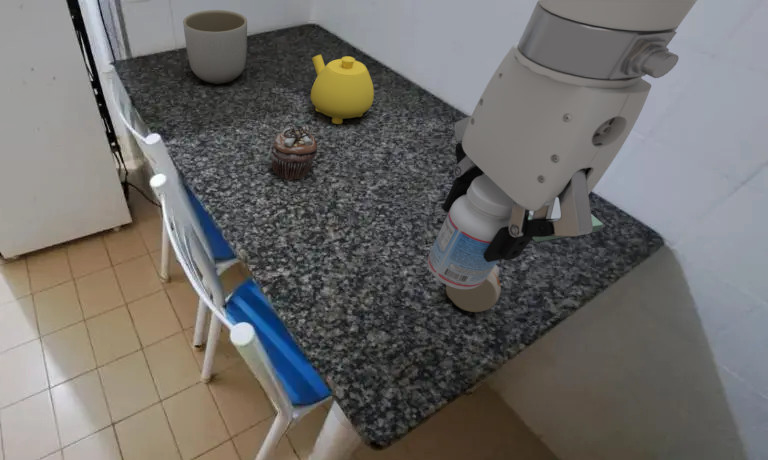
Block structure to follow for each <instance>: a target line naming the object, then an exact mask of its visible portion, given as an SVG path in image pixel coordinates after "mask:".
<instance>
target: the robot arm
mask: <svg viewBox="0 0 768 460" xmlns="http://www.w3.org/2000/svg"><path fill="white" fill-rule="evenodd" d="M696 2H698V0H537V2H536V4H535V6H534V8H533V11H532V12H531V14H530V15H531V16H530V17H529V20H528V22H527V23H526V26H525V28H524V30H523V32H522V35H520V36H521V37H520V39H519V40H518V42H515V43H514V44H513V45H512V46H511V48H510V49H509V50H508V51H507V53H506V55H505V56H504V57H503V59H502V61H501V62H500V63H499V65H498V66H497V68H496V70H495V71H494V73H493V74H492V76H491V78H490V80H489V81H488V83H487V85H486V87H485V88H484V91H483V92H482V93H481V95H480V98H479V99H478V101H477V103H476V105H475V107H474V109H473V112H472V114H471V115H469V116H466V117H464V118H462V119H460V120H457V121H455V122H454V124H453V131H454V137H455V143H456V145H455V147H454V151H455V158H456V165H455V166H454V167H453V169H452V170H453V172H452V173H453V175H454V177H455V179H454V181H453V183H452V185H451V187H450V190H449V192H448V194H447V196H446V199H445V201H444V202H443V204H442V207H441V208H442V209H443V211H444V212H445V213H447V214H448V213H449V210H450V208H451V206H452V205H453V203H454V202H455V201H456V200H457V199H458V198H459V197H461V196H463V195H465V194H467V190H468V188H469V187H470V185H471V183H472V181H473V180H474V179H475V178H477V177H478V176H481V175H487V176H488V177H489V178H490V179H491V180H492V181H493V182H494V183H495V184H496V185H498V186H499V187H500V188H501V189H502V190H503V191H504V192H505V193H506V194H507V195H508V196H509V197H510V198H512V199H513V200H514V201H513V207H512V212H511V217H510V222H509V226H507V227H502V228H500V229H499V231H498V232H497V234H496V235H495V237H494V238H493V240H492V242H491V243H490V245H489V246H488V248H487V249H486V251H485V253H484V254H483V255H484V256H483V258H484V259H485V260H486V261H487V262H492V261H497V260H499V261H501V260H502V261H503V260H504V261H511V260H512V261H513V260H514V259H517V258H518V257H519V256H520V255H521V254H522V253H523V252H524V250H525V249H526V248H527V246H528V245H529V244H530V242H531V241H532V240H533V239H532V238H533V237H546V236H555V237H564V238H574V237H575V238H576V237H580V236H581V237H582V236H585V235H590V234H592V233H591V232H592V231H593V225H592V217H591V214H592V211H591V210H592V209H591V204H590V197H589V195H590V194H591V193H592V191H593V190H594V189H595V187H596V186H597V184H598V183H599V182H600V181H601V179H602V178H603V176H604V175H605V173H606V172H607V171H608V169H609V167H610V166H611V165H612V163H613V161H614V160H615V158H616V157H617V155H618V153H619V152H620V151H621V149H622V148H623V146H624V144H625V142H626V141H627V139H628V137H629V135H630V134H631V132H632V130H633V128H634V126H635V124H636V122H637V120H638V119H639V116H640V114H641V113H642V111H643V108H644V106H645V103H646V101H647V98H648V96H649V94H650V92H651V88H652V84H651V83H650V82H648V81H646V80H645V79H643V78H642V77H645V76H646V75H648V76H649V77H651V78H653V79H660V78H661V77H664V76H665V75H667V74H668V73H669V72H670V71H672V70H673V69H674V68H675V66H676V65H677V64H678V62H679V58H680V57H679V55H678V54H676V53H673V52H670V49H669V48H668V45H669V44H670V43H671V41H672V40H673V38H674V37H675V36H676V34H677V31H676V30H677V29H678V28H679V26H681V24H682V22H683V21H684V19H685V18H686V17H687V15H688V14H689V13H690V11H691V10H692V8H693V7H694V5H696ZM556 197H558V198H559V204H560V211H561V217H560V219H559V218H558V219H551V215H552V211H553V207H554V203H555V199H556ZM530 211H534V212H533V217H532V219H529V220H528V218H529V213H530Z"/></svg>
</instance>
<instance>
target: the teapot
mask: <svg viewBox="0 0 768 460" xmlns="http://www.w3.org/2000/svg"><path fill="white" fill-rule="evenodd" d="M311 60H312V64H313V66H314V70H315V72H316V73H315V74H316V78H315V81H314V82H313V85H312V87H311V90H310V95H309V96H310V101H311V103H312V104H313V106H314V107H315V111H316V112H318V113H321V114H323V115H325V116H328V117H330V118H331V122H332V124H335V125H341V124H342V123H343V122H344V120H345V119H353V118H361V117H363V115H364V114H365V112H367V111H368V110H369V109H370V108H371V107H372V105H373V102H374V96H375V91H374V89H375V88H374V84H373V81H372V78H371V75H370V72H369V70H368V68H367V67H366V65H365V64H363V63H362V62H361V61H358V60H356V58H355V57H353V56H349V55H348V56H347V55H345V56H342V57H341V58H338V59H333V60H331V61H329V62H328V63H326V65H325V62H324V59H323V55H322V54H317V55H315V56H313V57H311Z"/></svg>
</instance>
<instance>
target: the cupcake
mask: <svg viewBox="0 0 768 460" xmlns="http://www.w3.org/2000/svg"><path fill="white" fill-rule="evenodd" d="M316 140H317V139H316V138H315V137H314V136H313V134H312V133H310V129H309V126H308V125H307V124H303V125H301V126H298V127H297V128H295V126H294V125H292V124H290V125H289V127H287V128H284V130H283V131H282V132H280V133H279V134H277V135H276V136H275V138H274V141H273V142H272V144H271V145H270V147H269V154H270V159H271V164H272V170H273V173H275V175H276V176H277V177H279V178H281V179H284V180H289V181H293V180H300V179H302V178H305V177H307V175H308V174H309V172H310V170H311V168H312V165H313V163H314V160H315V159H316V155H317V153H318V142H317V141H316Z"/></svg>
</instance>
